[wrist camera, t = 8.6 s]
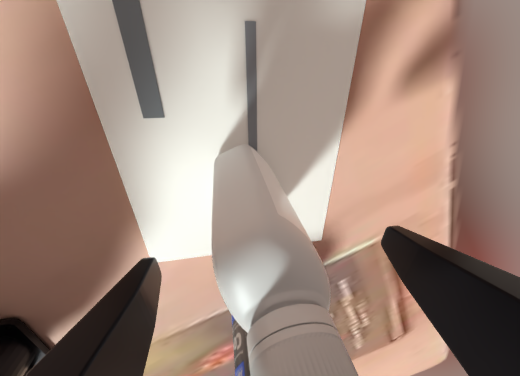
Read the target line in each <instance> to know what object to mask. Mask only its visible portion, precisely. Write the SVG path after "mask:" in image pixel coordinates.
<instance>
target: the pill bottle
mask: <svg viewBox="0 0 520 376" xmlns="http://www.w3.org/2000/svg"><path fill="white" fill-rule="evenodd" d="M232 328H233V344H234V362H235V376H250V366H249V357H248V348H247V334H248V333H247V332H246V331H245V330H244V329H243V328H242V327H241V326H240V325H239V324H238V322H237V321H236V320H235V318H234V317H233V316H232Z"/></svg>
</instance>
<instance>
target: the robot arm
mask: <svg viewBox="0 0 520 376" xmlns="http://www.w3.org/2000/svg"><path fill="white" fill-rule="evenodd" d="M381 245H382V248H383V250H384V251H385V253H386V255H387V256H388V258H389V260H390V262H391V263H392V265H393V267H394V268H395V270H396V272H397V274H398V275H399V277H400V278H401V280H402V282H403V283H404V285H405V286H406V288H407V289H408V290H409V292H410V293H411V295H412V296H413V298H414V299H415V300H416V302H417V303H418V305H419V306H420V307H421V309H422V310H423V312H424V313H425V315H426V316H427V317H428V319H429V320H430V322H431V323H432V324H433V326H434V327H435V329H436V330H437V332H438V333H439V334H440V336H441V337H442V339H443V340H444V341H445V343H446V344H447V346H448V347H449V348H450V350H451V351H452V353H453V354H454V356H455V357H456V358H457V360H458V361H459V363H460V364H461V365H462V367H463V368H464V370H465V371H466V373H467V374H468V375H469V376H520V277H517V276H515V275H513V274H511V273H508V272H506V271H503V270H501V269H499V268H496V267H494V266H492V265H489V264H487V263H485V262H482V261H480V260H477V259H475V258H473V257H471V256H468V255H466V254H463V253H461V252H459V251H457V250H454V249H452V248H450V247H447V246H445V245H442V244H440V243H438V242H435V241H433V240H431V239H428V238H426V237H424V236H421V235H419V234H417V233H414V232H412V231H410V230H407V229H405V228H403V227H400V226H389V227H387V228H386V230H385V232H384V235H383V238H382V240H381ZM160 286H161V271H160V268H159V265H158V262H157V260H156V258H155V257H150V258H143V259H141V260H140V261H139V262H138V263H137V264H136V265H135V266H134V267H133V268H132V269H131V270H130V271H129V272H128V273H127V274H126V275H125V276H124V277H123V278H122V279H121V280H120V281H119V282H118V283H117V284H116V285H115V286H114V287H113V288H112V289H111V290H110V291H109V292H108V293H107V294H106V295H105V296H104V297H103V298H102V299H101V300H100V301H99V302H98V303H97V304H96V305H95V306H94V307H93V308H92V309H91V310H90V311H89V312H88V313H87V314H86V315H85V316H84V317H83V318H82V319H81V320H80V321H79V322H78V323H77V324H76V325H75V326H74V327H73V328H72V329H71V330H70V331H69V332H68V333H67V334H66V335H65V336H64V337H63V338H62V339H61V340H60V341H59V342H58V343H57V344H56V345H55V346H54V347H53V348H52V349H51V350H49V349H48V348H47V347H46V346H45V345H44V344H43V343H42V342H41V341H40V340H39V339H38V338H37V337H36V336H35V335H34V334H33V333H32V332H31V331H30V330H29V329H28V328H27V327H26V326H25V325H24V324H23V323H22V322H21V321H20V320H18V319H5V320H0V376H143V373H144V369H145V365H146V361H147V357H148V352H149V348H150V344H151V340H152V336H153V332H154V327H155V322H156V315H157V308H158V301H159V293H160Z"/></svg>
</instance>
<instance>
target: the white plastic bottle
mask: <svg viewBox="0 0 520 376" xmlns="http://www.w3.org/2000/svg"><path fill="white" fill-rule="evenodd" d="M211 246H212V261H213V268H214V273H215V277H216V281H217V284H218V287H219V290H220V293H221V295H222V298H223V300H224V302H225V304H226V306H227V308H228V309H229V311H230V313H231V314H232V316H233V317H234V318H235V320H236V321H237V322H238V324H239V325H240V326H241V327H242V328H243V329H244V330H245V331H246V332H247V333H248V334H247V348H248V357H249V366H250V376H358V374H357V372H356V369H355V367H354V365H353V363H352V361H351V359H350V356H349V354H348V352H347V350H346V348H345V346H344V343H343V341H342V339H341V337H340V335H339V333H338V330H337V328H336V326H335V324H334V322H333V320H332V317H331V315H330V313H329V312H328V311H329V307H330V299H331V292H330V284H329V279H328V275H327V272H326V270H325V267H324V265H323V262H322V260H321V258H320V256H319V254H318V252H317V250H316V249H315V247H314V245H313V243H312V241H311V239H310V238H309V236H308V234H307V232H306V230H305V229H304V227H303V225H302V223H301V221H300V219H299V218H298V216H297V214H296V212H295V210H294V209H293V207H292V205H291V203H290V201H289V200H288V198H287V196H286V194H285V192H284V190H283V189H282V187H281V185H280V183H279V181H278V180H277V178H276V176H275V174H274V172H273V171H272V169H271V167H270V166H269V164H268V163H267V162H266V160H265V159H264V158H263V157H262V156H261V155H260V154H259V153H258V152H257V151H256V150H255V149H254V148H252V147H251V146H249V145H246V144H243V145H239V146H237V147H234V148H232V149H230V150H228V151H226V152H224V153H222V154H220V155H219V156H218V157H217V158H216V159H215V162H214V173H213V197H212V236H211Z"/></svg>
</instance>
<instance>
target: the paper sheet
mask: <svg viewBox="0 0 520 376" xmlns="http://www.w3.org/2000/svg"><path fill="white" fill-rule="evenodd" d="M57 3H58V6H59V9H60V11H61V14H62V17H63V20H64V22H65V25H66V28H67V31H68V33H69V36H70V39H71V42H72V44H73V47H74V50H75V53H76V55H77V58H78V61H79V64H80V66H81V69H82V72H83V75H84V77H85V80H86V83H87V86H88V88H89V91H90V94H91V97H92V99H93V102H94V105H95V108H96V110H97V113H98V116H99V119H100V121H101V124H102V127H103V130H104V132H105V135H106V138H107V141H108V143H109V146H110V149H111V152H112V154H113V157H114V160H115V163H116V165H117V168H118V171H119V174H120V176H121V179H122V182H123V185H124V187H125V190H126V193H127V196H128V198H129V201H130V204H131V206H132V209H133V212H134V215H135V217H136V220H137V223H138V226H139V228H140V231H141V234H142V237H143V239H144V242H145V245H146V248H147V250H148V253H149V256H150V257H155V258H156V260H157V262H163V261H171V260H178V259H186V258H193V257H201V256H208V255H212V246H211V236H212V197H213V173H214V162H215V159H216V158H217V157H218V156H219V155H220V154H222V153H224V152H226V151H228V150H230V149H232V148H234V147H237V146H239V145H243V144H246V145H249V146H251V147H252V148H254V149H255V150H256V151H257V152H258V153H259V154H260V155H261V156H262V157H263V158H264V159H265V160H266V162H267V163H268V164H269V166H270V167H271V169H272V171H273V172H274V174H275V176H276V178H277V180H278V181H279V183H280V185H281V187H282V189H283V190H284V192H285V194H286V196H287V198H288V200H289V201H290V203H291V205H292V207H293V209H294V210H295V212H296V214H297V216H298V218H299V219H300V221H301V223H302V225H303V227H304V229H305V230H306V232H307V234H308V236H309V238H310V239H311V241H319V240H322V235H323V229H324V224H325V219H326V213H327V208H328V203H329V197H330V192H331V186H332V181H333V176H334V170H335V165H336V160H337V154H338V149H339V144H340V138H341V133H342V128H343V122H344V117H345V112H346V106H347V101H348V95H349V90H350V85H351V79H352V74H353V69H354V63H355V58H356V53H357V47H358V42H359V37H360V31H361V26H362V21H363V15H364V10H365V5H366V0H57Z"/></svg>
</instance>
